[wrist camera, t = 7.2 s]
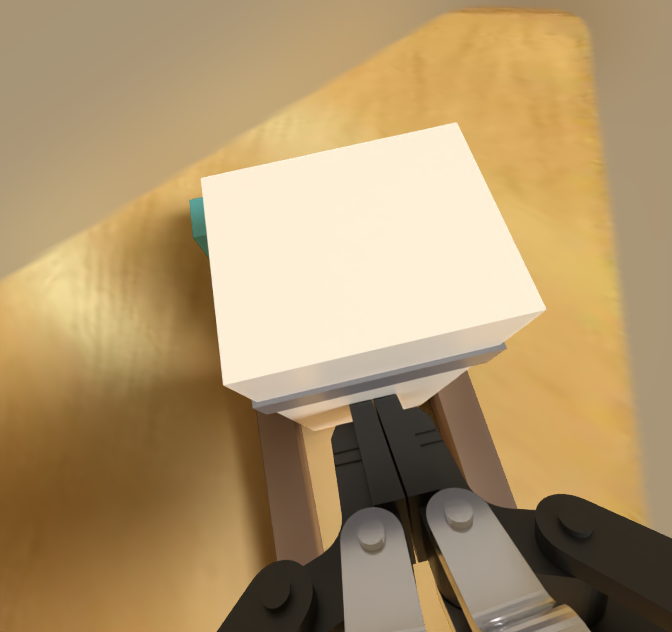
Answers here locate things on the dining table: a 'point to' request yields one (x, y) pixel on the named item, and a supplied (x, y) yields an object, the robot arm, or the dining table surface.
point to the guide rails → (295, 483)
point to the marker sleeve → (361, 275)
